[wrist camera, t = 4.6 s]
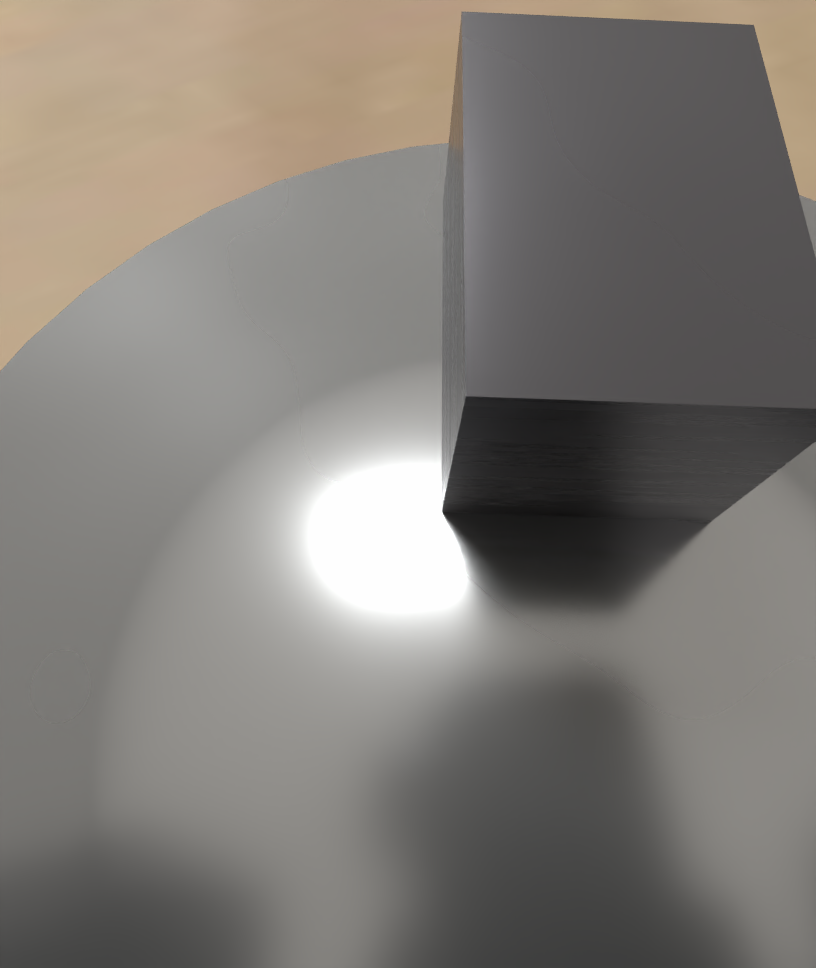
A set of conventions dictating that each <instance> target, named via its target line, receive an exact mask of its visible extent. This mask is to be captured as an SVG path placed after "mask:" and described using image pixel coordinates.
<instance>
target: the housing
mask: <svg viewBox="0 0 816 968" xmlns="http://www.w3.org/2000/svg"><path fill="white" fill-rule="evenodd" d="M0 968H816V201H813V200H811V199H808V198H805V197H803V196H800V195H799V193H798V190H797V186H796V182H795V178H794V175H793V171H792V167H791V163H790V160H789V156H788V152H787V148H786V145H785V141H784V137H783V133H782V130H781V126H780V122H779V118H778V115H777V111H776V107H775V103H774V100H773V96H772V92H771V88H770V84H769V81H768V77H767V73H766V69H765V66H764V62H763V58H762V54H761V51H760V47H759V43H758V39H757V36H756V32H755V28H754V25H742V24H720V23H699V22H677V21H655V20H633V19H611V18H590V17H568V16H546V15H524V14H503V13H481V12H462V15H461V25H460V35H459V45H458V55H457V65H456V75H455V85H454V95H453V105H452V115H451V125H450V136H449V143H445V144H435V145H426V146H416V147H409V148H404V149H399V150H394V151H389V152H384V153H379V154H374V155H370V156H365V157H360V158H355V159H350V160H345V161H342V162H338V163H335V164H332V165H329V166H326V167H322V168H319V169H316V170H313V171H310V172H306V173H303V174H300V175H297V176H293V177H290V178H287V179H284V180H281V181H278V182H275V183H273V184H271V185H268V186H266V187H264V188H261V189H259V190H257V191H254V192H252V193H250V194H247V195H245V196H243V197H240V198H238V199H236V200H233V201H231V202H229V203H226V204H224V205H222V206H219V207H217V208H215V209H212V210H211V211H209V212H207V213H205V214H203V215H202V216H200V217H198V218H196V219H195V220H193V221H191V222H189V223H187V224H186V225H184V226H182V227H180V228H178V229H177V230H175V231H173V232H171V233H169V234H168V235H166V236H164V237H162V238H160V239H159V240H157V241H155V242H153V243H152V244H150V245H148V246H147V247H145V248H144V249H143V250H141V251H140V252H138V253H137V254H135V255H134V256H133V257H131V258H130V259H128V260H127V261H126V262H124V263H123V264H121V265H120V266H119V267H117V268H116V269H114V270H113V271H111V272H110V273H109V274H107V275H106V276H104V277H103V278H102V279H100V280H99V281H97V282H96V283H95V284H93V285H92V286H90V287H89V288H88V289H86V290H85V291H84V292H83V293H82V294H81V295H79V296H78V297H77V298H76V299H75V300H74V301H73V302H72V303H70V304H69V305H68V306H67V307H66V308H65V309H64V310H63V311H61V312H60V313H59V314H58V315H57V316H56V317H55V318H54V319H52V320H51V321H50V322H49V323H48V324H47V325H46V326H44V327H43V328H42V329H41V330H40V331H39V332H38V333H37V334H35V335H34V336H33V337H32V338H31V339H30V340H29V341H28V342H26V344H25V345H24V346H23V347H22V348H21V349H20V350H19V351H18V352H17V354H16V355H15V356H14V357H13V358H12V359H11V360H10V361H9V362H8V364H7V365H6V366H5V367H4V368H3V369H2V370H1V371H0Z"/></svg>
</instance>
